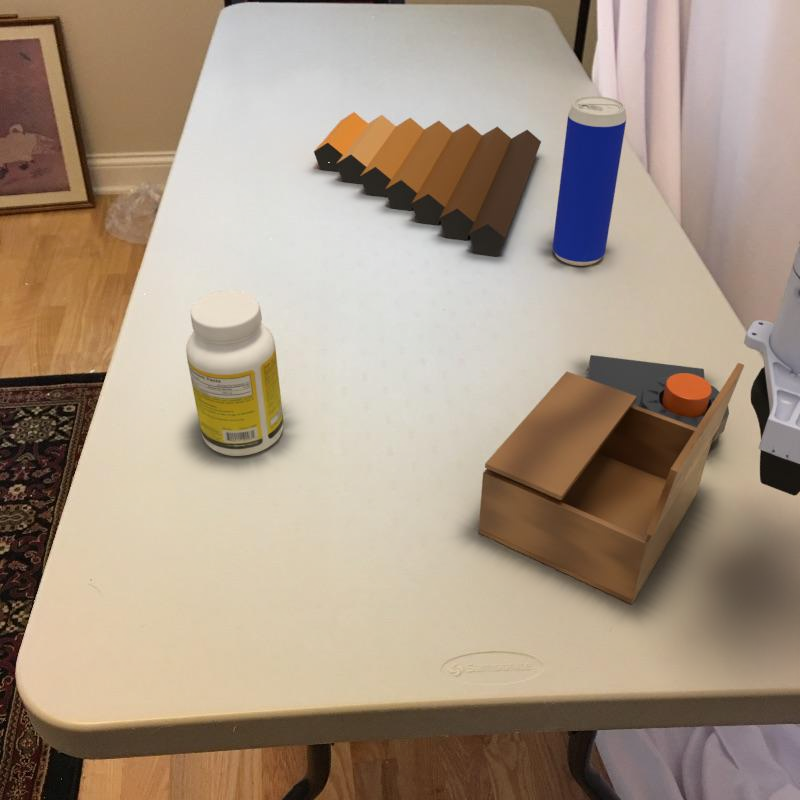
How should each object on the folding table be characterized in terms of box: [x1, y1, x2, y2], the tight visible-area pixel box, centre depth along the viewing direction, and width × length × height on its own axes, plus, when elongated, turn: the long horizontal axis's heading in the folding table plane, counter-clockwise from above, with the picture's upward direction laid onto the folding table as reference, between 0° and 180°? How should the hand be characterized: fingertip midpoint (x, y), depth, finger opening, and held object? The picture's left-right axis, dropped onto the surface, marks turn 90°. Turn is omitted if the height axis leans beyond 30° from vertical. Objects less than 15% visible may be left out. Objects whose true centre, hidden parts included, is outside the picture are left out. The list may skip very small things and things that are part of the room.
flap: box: [647, 362, 745, 536], centre depth 54 cm, size 5×12×1 cm
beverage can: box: [551, 95, 627, 267], centre depth 85 cm, size 5×5×15 cm
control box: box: [586, 354, 730, 443], centre depth 69 cm, size 10×10×3 cm
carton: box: [478, 370, 713, 605], centre depth 60 cm, size 11×12×6 cm
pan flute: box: [313, 111, 542, 257], centre depth 100 cm, size 25×3×25 cm
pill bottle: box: [185, 289, 284, 457], centre depth 65 cm, size 6×6×11 cm
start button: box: [662, 373, 712, 418], centre depth 66 cm, size 3×3×2 cm
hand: (781, 482), depth 52 cm, fingers closed
